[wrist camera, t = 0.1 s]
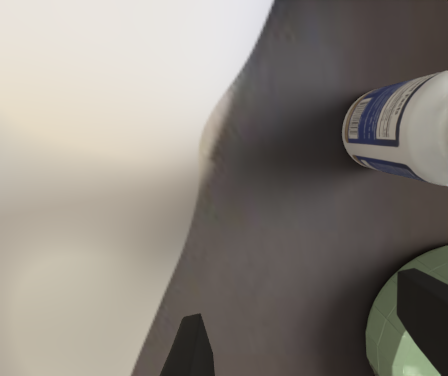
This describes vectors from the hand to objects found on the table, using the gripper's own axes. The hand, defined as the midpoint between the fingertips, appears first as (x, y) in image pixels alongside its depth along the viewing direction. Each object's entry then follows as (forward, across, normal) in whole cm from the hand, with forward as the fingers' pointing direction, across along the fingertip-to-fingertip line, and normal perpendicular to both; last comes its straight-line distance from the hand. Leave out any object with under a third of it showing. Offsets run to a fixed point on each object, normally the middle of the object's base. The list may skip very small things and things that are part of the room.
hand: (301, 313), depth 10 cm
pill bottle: (+11, -9, -3) cm, 15 cm away
